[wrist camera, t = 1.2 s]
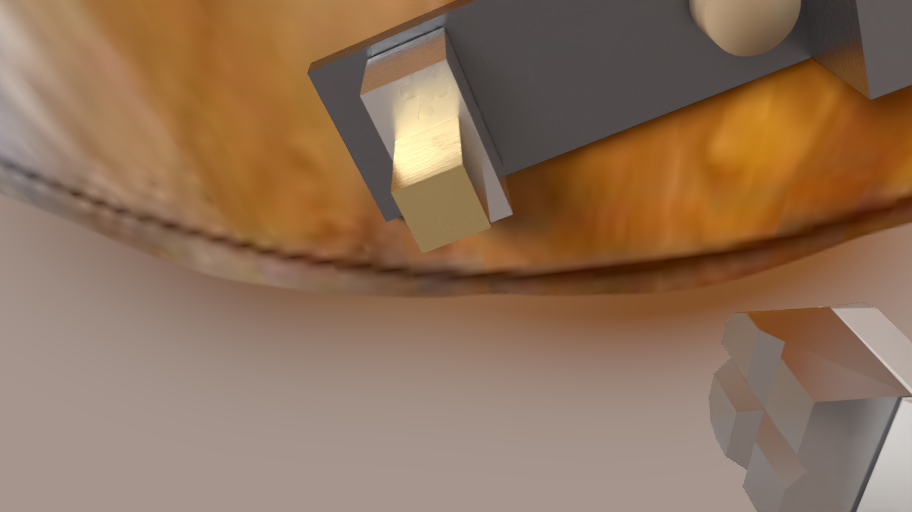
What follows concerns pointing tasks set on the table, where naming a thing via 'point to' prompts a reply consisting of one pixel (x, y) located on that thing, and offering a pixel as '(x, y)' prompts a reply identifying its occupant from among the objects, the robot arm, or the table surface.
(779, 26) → the hazelnut
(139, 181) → the table surface
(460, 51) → the press base
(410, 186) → the block
